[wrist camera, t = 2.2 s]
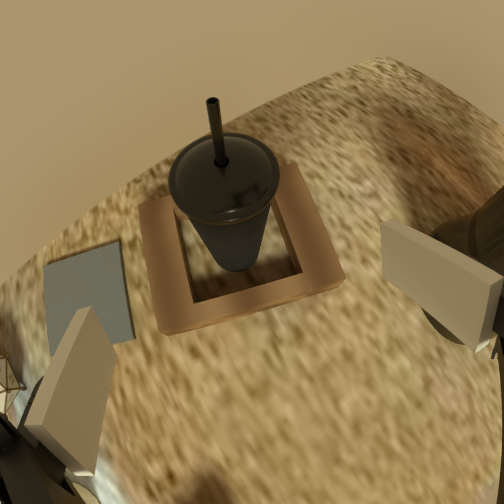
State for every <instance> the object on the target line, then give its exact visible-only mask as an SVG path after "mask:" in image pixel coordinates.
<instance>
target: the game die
mask: <svg viewBox="0 0 504 504" xmlns="http://www.w3.org/2000/svg"><path fill="white" fill-rule="evenodd" d="M9 356H10V352H8V353H7V354H6V356H2V355H0V413H1V414H4V415H5V417H6V418H7V419H8V417H7V415H6V412H7V410H8V408H9V407H10V405H11V403H12V402H13V400H14V399H15V397H16V395H17V394H18V392H19V390H20V389H21V390H23V391H24V390H27V389H26V388H25V387H20V385H19V383H18V381H17V379H16V377H15V375H14V373H13V370H12V368H11V366H10V363H9V361H8V359H7V358H8V357H9Z"/></svg>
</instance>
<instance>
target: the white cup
mask: <svg viewBox="0 0 504 504" xmlns="http://www.w3.org/2000/svg"><path fill="white" fill-rule="evenodd" d="M72 484H73V485H74V487H75V488H76V490H77V491H78V493H79V494H80V496H81V497H82V499H83V500H84V502H85V503H86V504H100V503H99V502H98V500H97V498H96V497H95V496H94V495H93V494H92V493H91V492H90V491H88V490H87V489H86V488H84V487H82V486H81V485H79V484H77V483H72Z"/></svg>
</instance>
